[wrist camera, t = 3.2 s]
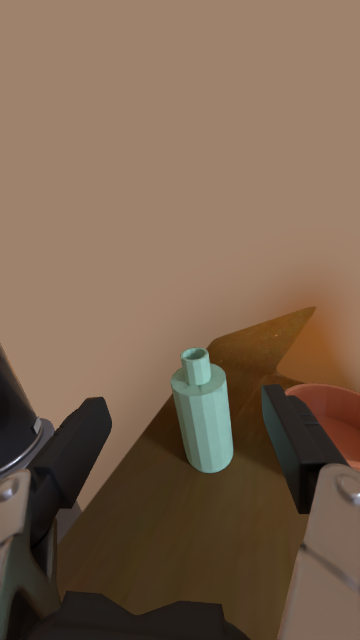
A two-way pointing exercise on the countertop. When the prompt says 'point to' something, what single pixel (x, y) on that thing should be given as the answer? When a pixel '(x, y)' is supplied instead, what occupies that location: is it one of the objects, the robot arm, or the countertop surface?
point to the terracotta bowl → (335, 415)
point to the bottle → (203, 411)
